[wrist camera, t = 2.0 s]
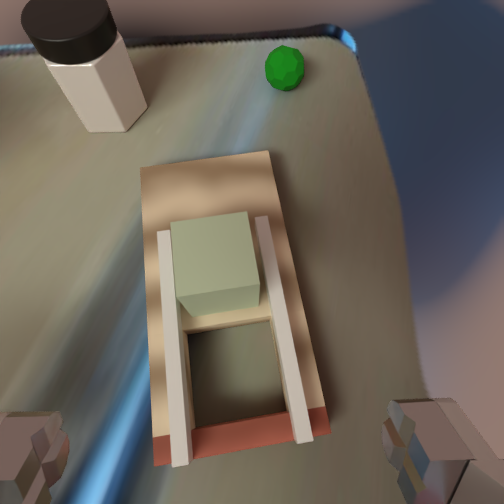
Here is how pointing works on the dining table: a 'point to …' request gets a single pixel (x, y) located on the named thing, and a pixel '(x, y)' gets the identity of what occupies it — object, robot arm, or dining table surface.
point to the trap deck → (212, 204)
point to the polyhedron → (284, 68)
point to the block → (215, 264)
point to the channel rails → (175, 347)
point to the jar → (87, 60)
